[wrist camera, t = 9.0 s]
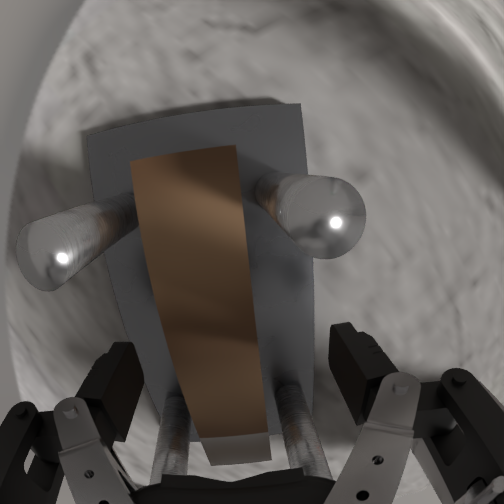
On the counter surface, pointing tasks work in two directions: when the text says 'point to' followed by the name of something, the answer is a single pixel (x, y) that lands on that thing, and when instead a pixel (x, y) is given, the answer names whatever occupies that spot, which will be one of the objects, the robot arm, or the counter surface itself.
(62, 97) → the counter surface
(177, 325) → the brown wooden bar
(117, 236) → the peg rack
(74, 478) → the robot arm
